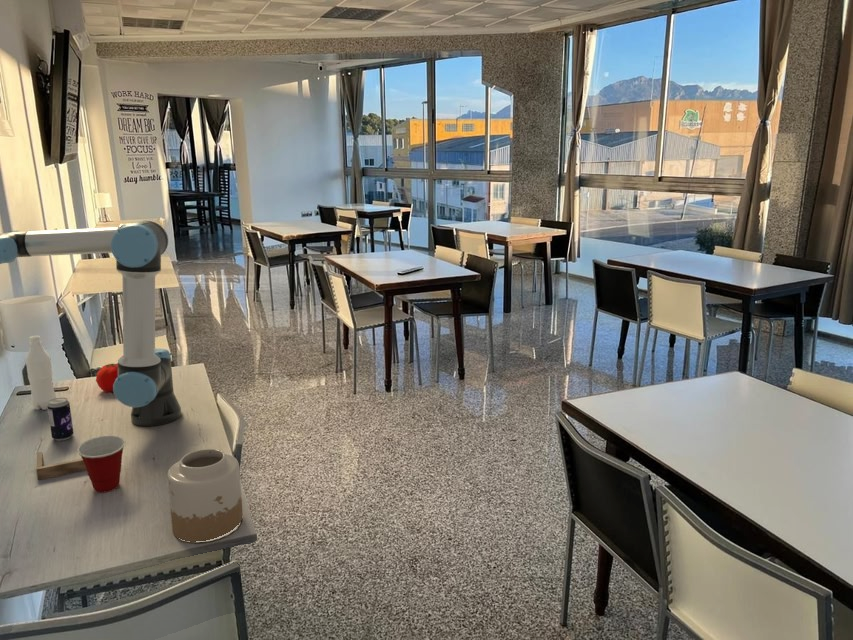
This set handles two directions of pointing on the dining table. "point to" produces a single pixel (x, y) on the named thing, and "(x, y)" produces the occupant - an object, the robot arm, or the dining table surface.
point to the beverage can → (60, 419)
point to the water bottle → (39, 374)
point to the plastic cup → (103, 461)
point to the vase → (204, 495)
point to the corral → (57, 467)
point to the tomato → (107, 377)
